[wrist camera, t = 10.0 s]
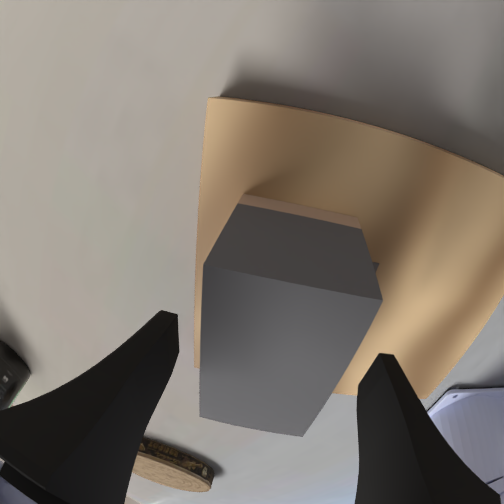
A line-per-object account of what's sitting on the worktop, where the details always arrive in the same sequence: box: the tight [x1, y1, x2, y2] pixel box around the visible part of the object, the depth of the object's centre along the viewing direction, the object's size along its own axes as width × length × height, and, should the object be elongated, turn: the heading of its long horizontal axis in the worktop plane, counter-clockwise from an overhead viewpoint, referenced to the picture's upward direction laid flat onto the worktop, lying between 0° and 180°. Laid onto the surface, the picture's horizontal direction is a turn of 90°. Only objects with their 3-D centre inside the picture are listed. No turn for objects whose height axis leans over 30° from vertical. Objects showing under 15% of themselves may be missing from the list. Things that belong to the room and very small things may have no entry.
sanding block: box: [200, 194, 383, 437], centre depth 11 cm, size 4×8×5 cm, turn 172°
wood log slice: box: [132, 438, 215, 492], centre depth 34 cm, size 16×16×3 cm
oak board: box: [194, 97, 504, 399], centre depth 14 cm, size 16×15×2 cm
